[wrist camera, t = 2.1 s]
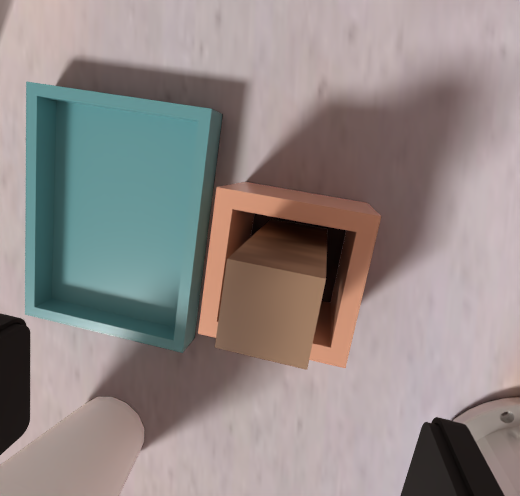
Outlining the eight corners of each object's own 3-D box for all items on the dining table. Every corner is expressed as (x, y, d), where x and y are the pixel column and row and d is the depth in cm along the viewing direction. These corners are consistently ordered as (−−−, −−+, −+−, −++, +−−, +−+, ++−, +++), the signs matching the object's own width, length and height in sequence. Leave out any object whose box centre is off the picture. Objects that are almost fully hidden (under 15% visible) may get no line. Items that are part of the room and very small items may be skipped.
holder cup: (367, 202, 25) (381, 216, 18) (341, 318, 27) (345, 368, 20) (245, 181, 26) (216, 187, 20) (229, 294, 28) (197, 333, 22)
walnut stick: (327, 229, 26) (325, 278, 15) (316, 282, 27) (306, 369, 15) (271, 218, 27) (227, 258, 15) (262, 271, 28) (214, 347, 16)
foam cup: (90, 359, 32) (-63, 484, 20) (179, 421, 32) (82, 587, 19) (49, 434, 35) (-110, 586, 22) (131, 491, 34) (18, 678, 22)
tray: (222, 114, 26) (211, 108, 23) (194, 337, 30) (182, 352, 27) (52, 89, 27) (26, 81, 25) (48, 303, 32) (24, 314, 29)
